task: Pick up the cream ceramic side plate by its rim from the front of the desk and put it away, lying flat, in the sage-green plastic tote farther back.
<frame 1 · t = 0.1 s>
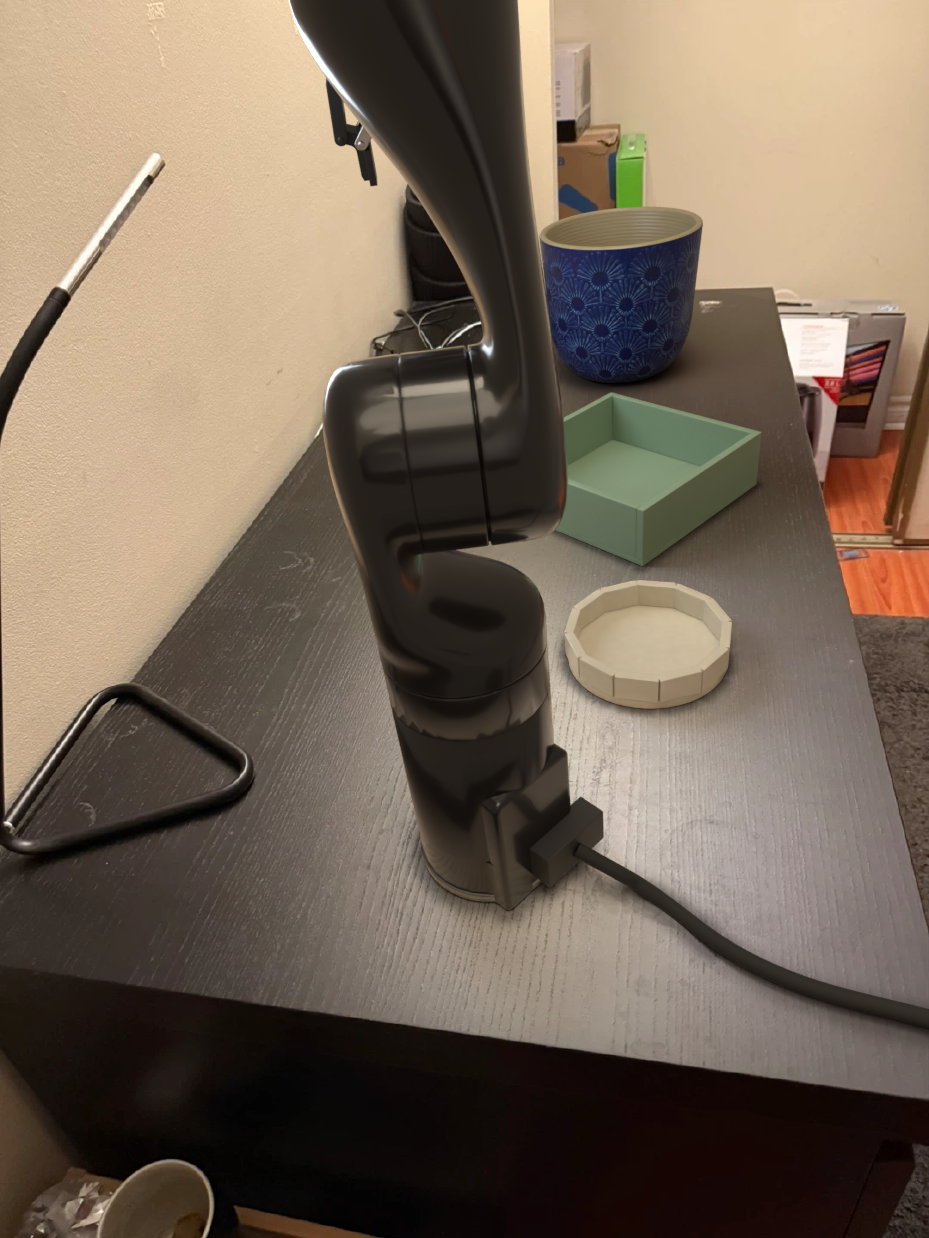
hand: (416, 176, 83), 31 cm above the table, tool tilted 20°, fingers open, 8 cm apart
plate: (646, 655, 70), on the table
tote: (625, 495, 91), on the table
planter: (620, 371, 120), on the table
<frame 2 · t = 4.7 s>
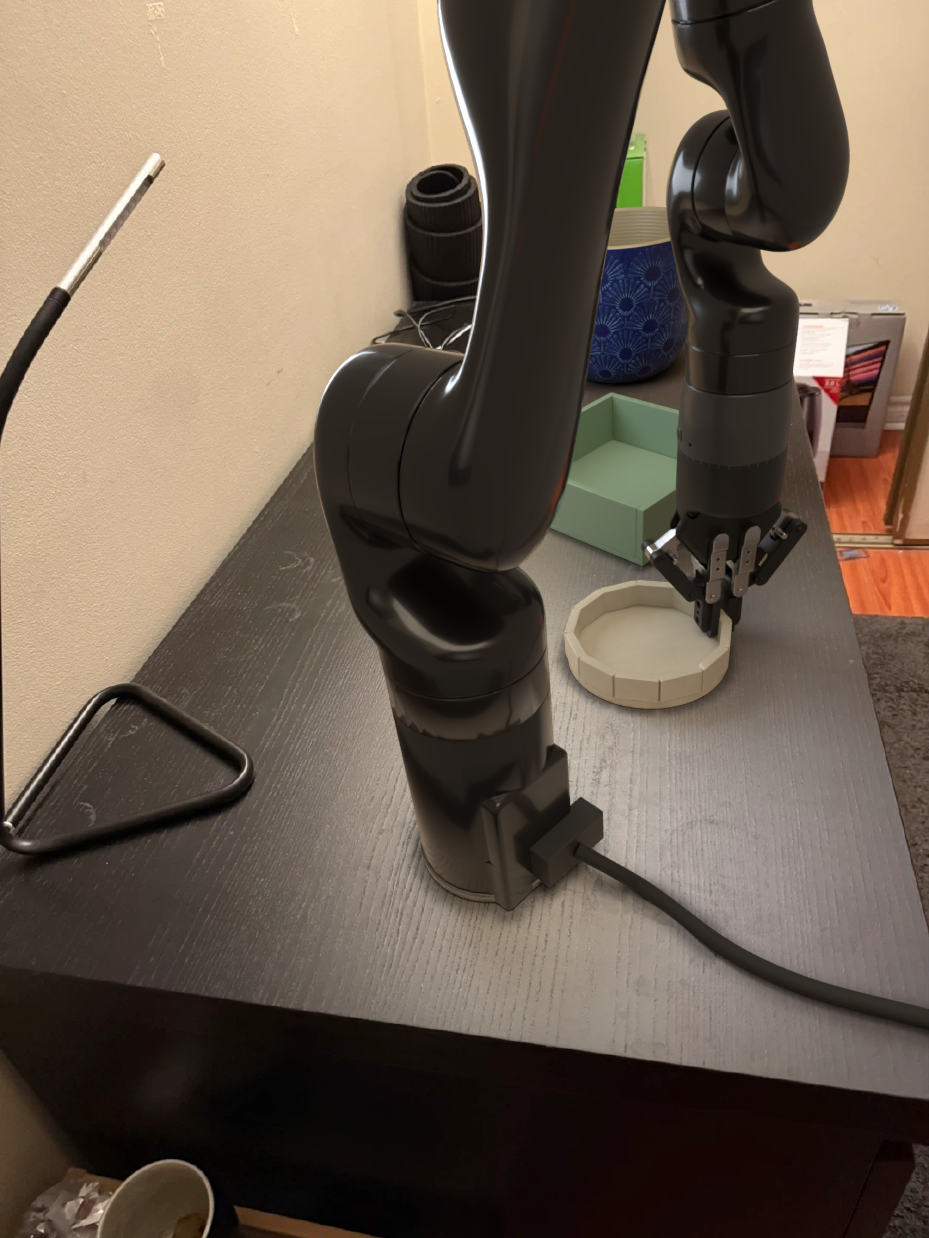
hand: (716, 628, 70), 1 cm above the table, tool pointing down, fingers closed on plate
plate: (646, 655, 70), on the table, touching gripper
everything else where it was.
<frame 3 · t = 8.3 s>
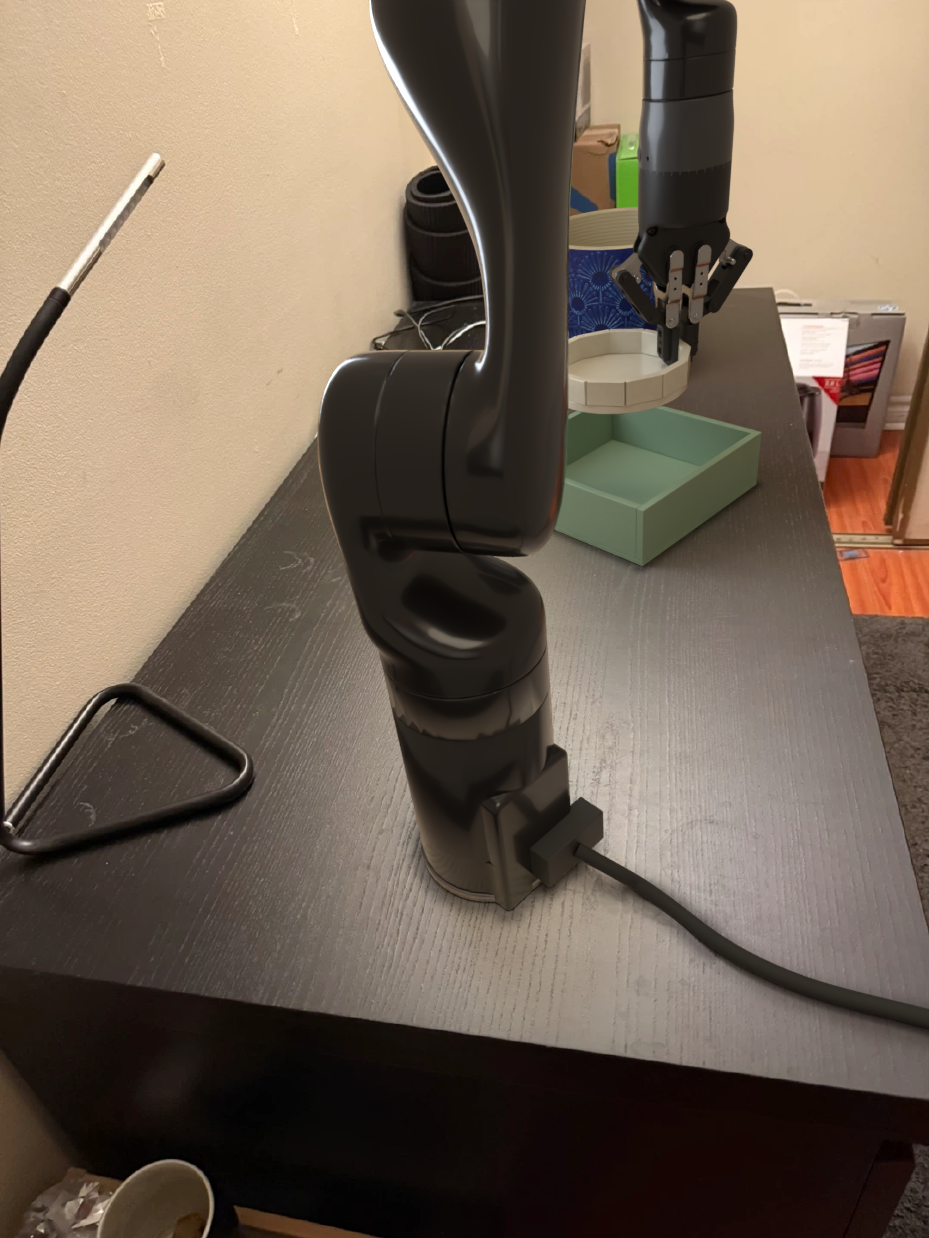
hand: (677, 361, 80), 15 cm above the table, tool pointing down, fingers closed on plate
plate: (617, 384, 80), point 14 cm above the table, touching gripper
everything else where it was.
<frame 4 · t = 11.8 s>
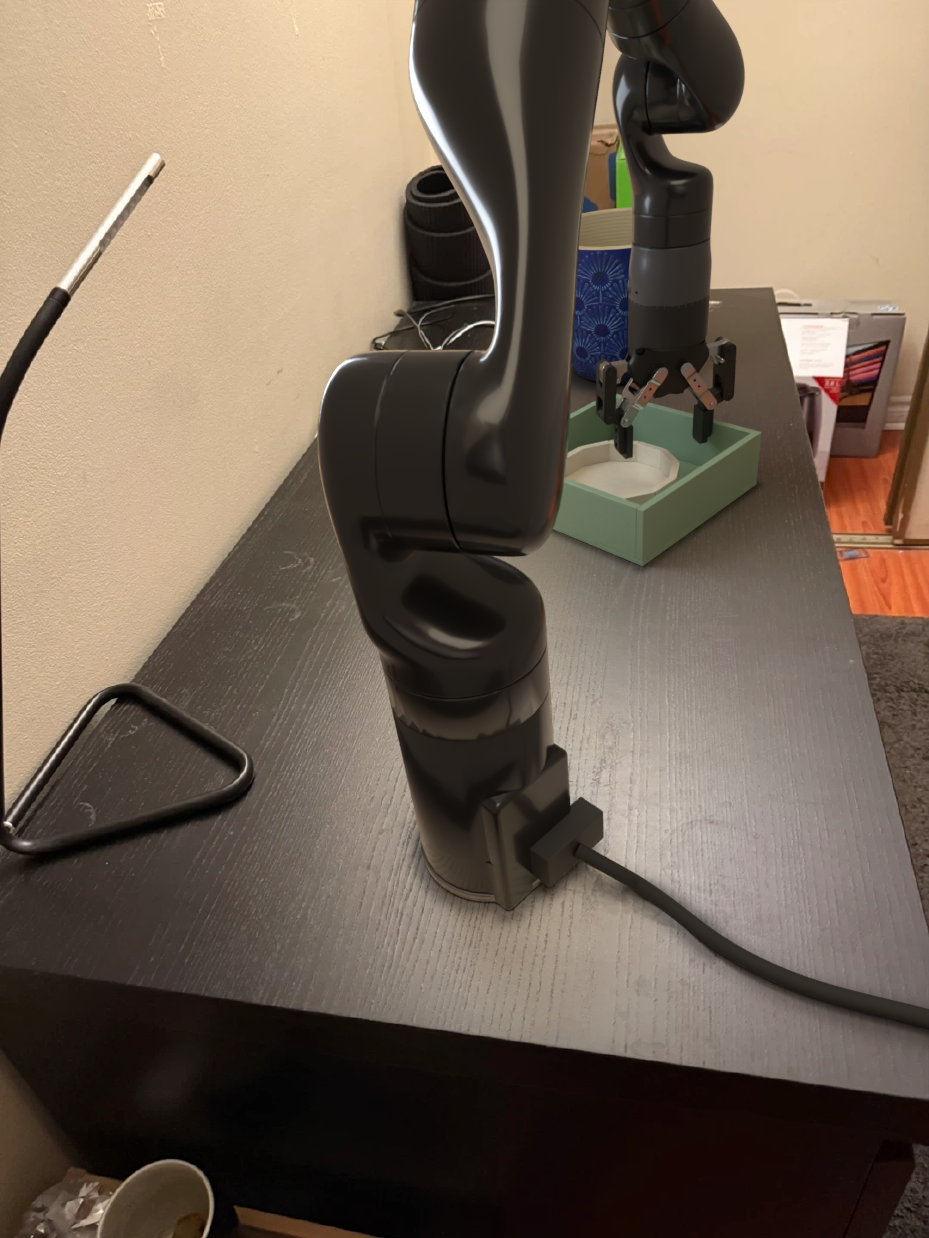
hand: (663, 448, 89), 5 cm above the table, tool pointing down, fingers open, 8 cm apart
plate: (615, 492, 91), point 1 cm above the table, touching tote
everything else where it was.
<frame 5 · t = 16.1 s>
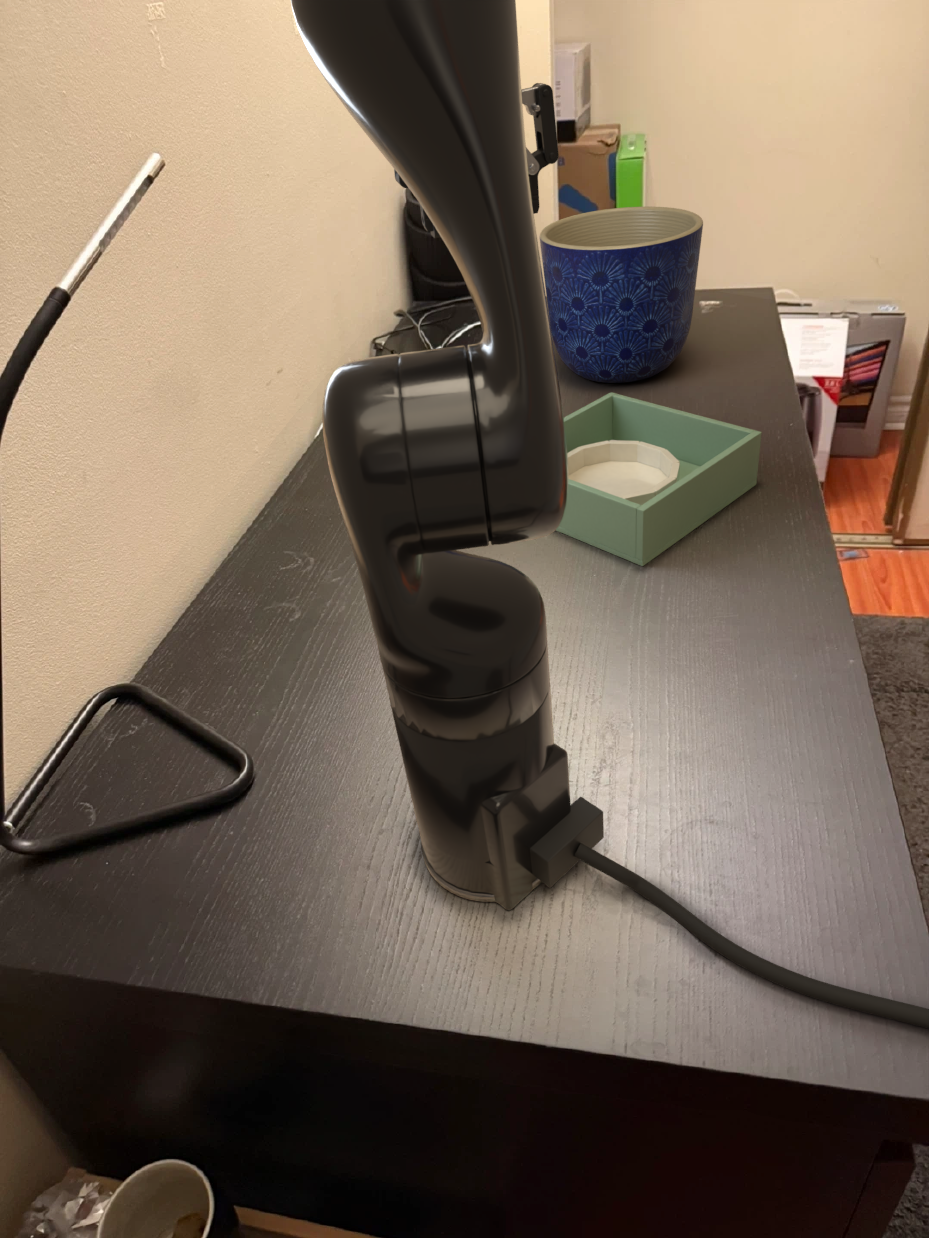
hand: (482, 228, 77), 28 cm above the table, tool pointing down, fingers open, 8 cm apart
nothing on the table moved.
at the end: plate inside the target area in the tote (1.1 cm from its centre), point 0.6 cm above the tote's base; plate tilted 0°; the gripper is holding nothing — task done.
